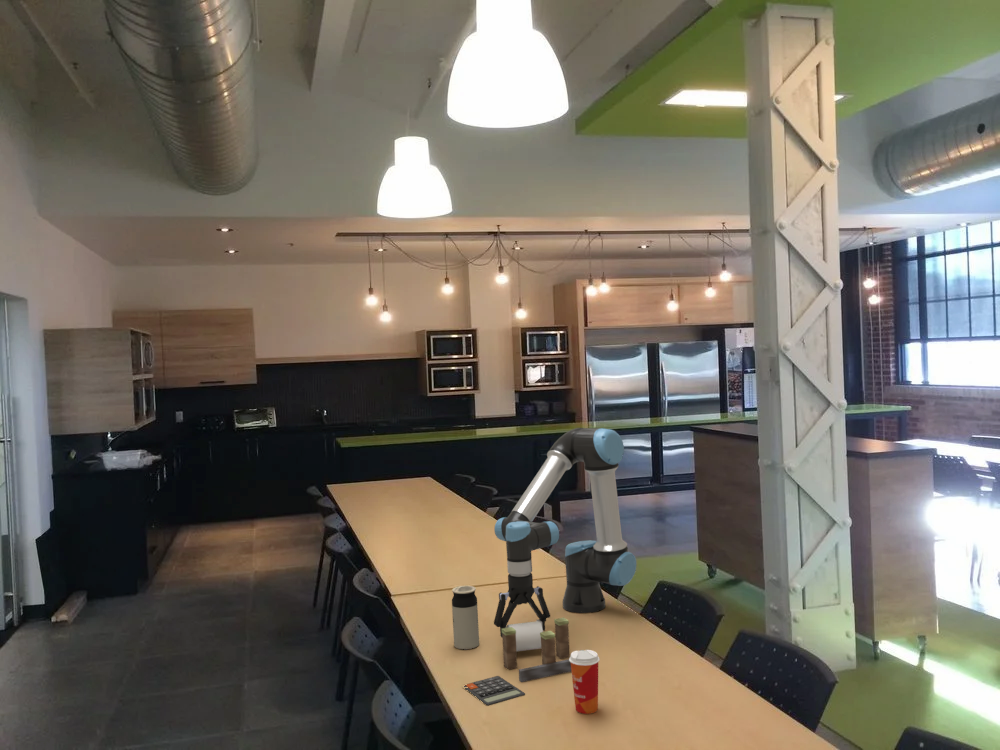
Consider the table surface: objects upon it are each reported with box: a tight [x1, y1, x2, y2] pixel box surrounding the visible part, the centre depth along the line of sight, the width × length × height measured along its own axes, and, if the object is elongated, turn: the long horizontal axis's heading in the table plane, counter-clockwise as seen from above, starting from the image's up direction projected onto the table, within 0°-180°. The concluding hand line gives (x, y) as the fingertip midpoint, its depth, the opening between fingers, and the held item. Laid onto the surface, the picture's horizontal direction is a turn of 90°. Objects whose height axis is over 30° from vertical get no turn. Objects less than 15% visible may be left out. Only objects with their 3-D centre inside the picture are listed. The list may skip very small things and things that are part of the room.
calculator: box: [464, 675, 526, 707], centre depth 216 cm, size 12×1×15 cm
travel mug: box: [451, 585, 480, 650], centre depth 251 cm, size 8×8×18 cm
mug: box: [506, 620, 544, 652], centre depth 244 cm, size 12×10×8 cm
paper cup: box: [568, 649, 600, 715], centre depth 201 cm, size 8×8×14 cm
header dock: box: [501, 617, 572, 683], centre depth 230 cm, size 20×13×11 cm, turn 112°
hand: (523, 644), depth 244 cm, fingers open, 11 cm apart
